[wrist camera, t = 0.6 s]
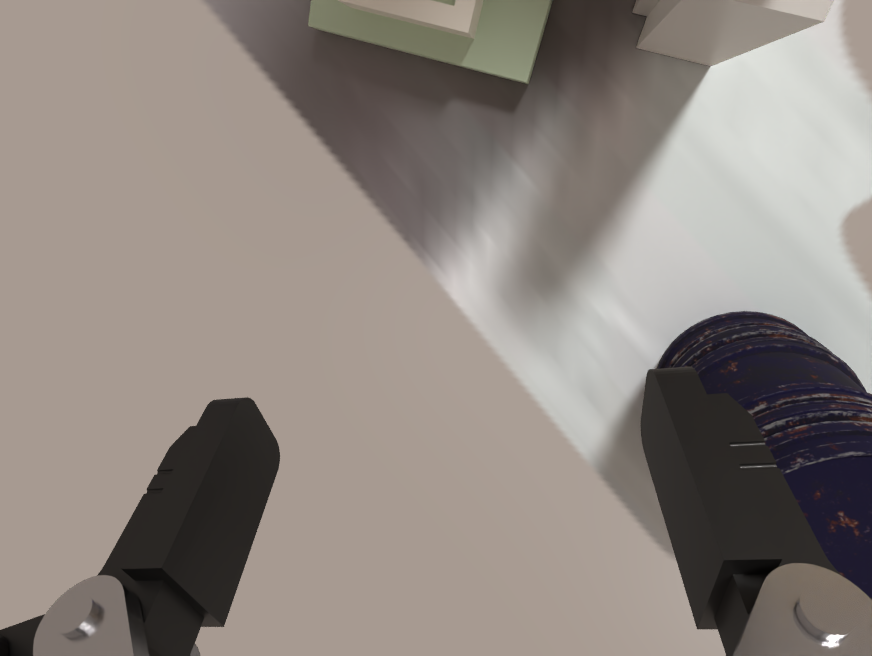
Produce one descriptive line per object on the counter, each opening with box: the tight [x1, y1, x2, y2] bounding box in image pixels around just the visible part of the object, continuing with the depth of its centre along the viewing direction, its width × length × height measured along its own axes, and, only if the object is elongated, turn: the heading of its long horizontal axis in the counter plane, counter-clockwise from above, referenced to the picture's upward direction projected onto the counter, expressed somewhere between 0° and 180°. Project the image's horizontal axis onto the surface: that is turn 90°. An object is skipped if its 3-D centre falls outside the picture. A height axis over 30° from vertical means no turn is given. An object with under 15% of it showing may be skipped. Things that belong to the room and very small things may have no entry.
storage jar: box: [657, 311, 872, 598], centre depth 26 cm, size 10×10×15 cm
